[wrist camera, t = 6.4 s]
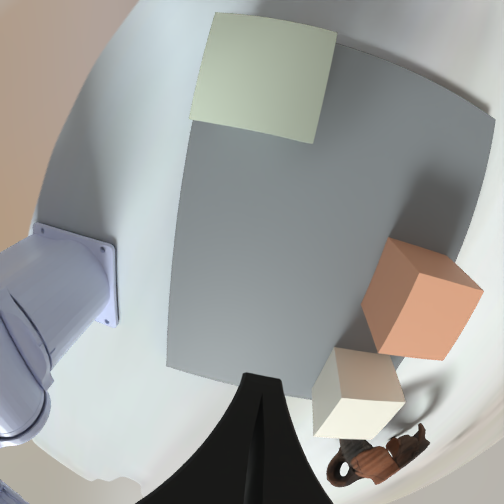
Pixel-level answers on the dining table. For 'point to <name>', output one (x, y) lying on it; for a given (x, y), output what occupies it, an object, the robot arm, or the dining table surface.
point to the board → (315, 221)
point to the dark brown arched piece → (374, 458)
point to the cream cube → (355, 395)
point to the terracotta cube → (418, 302)
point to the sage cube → (264, 75)
